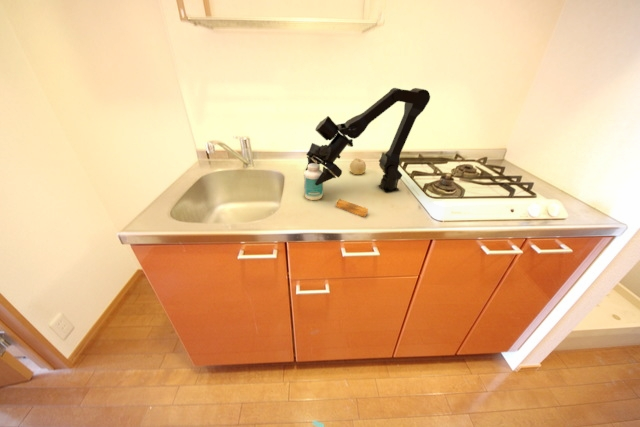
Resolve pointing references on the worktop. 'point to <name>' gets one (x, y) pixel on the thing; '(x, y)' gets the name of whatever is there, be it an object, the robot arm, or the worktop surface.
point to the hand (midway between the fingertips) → (310, 180)
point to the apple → (357, 166)
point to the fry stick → (352, 207)
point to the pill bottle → (313, 182)
